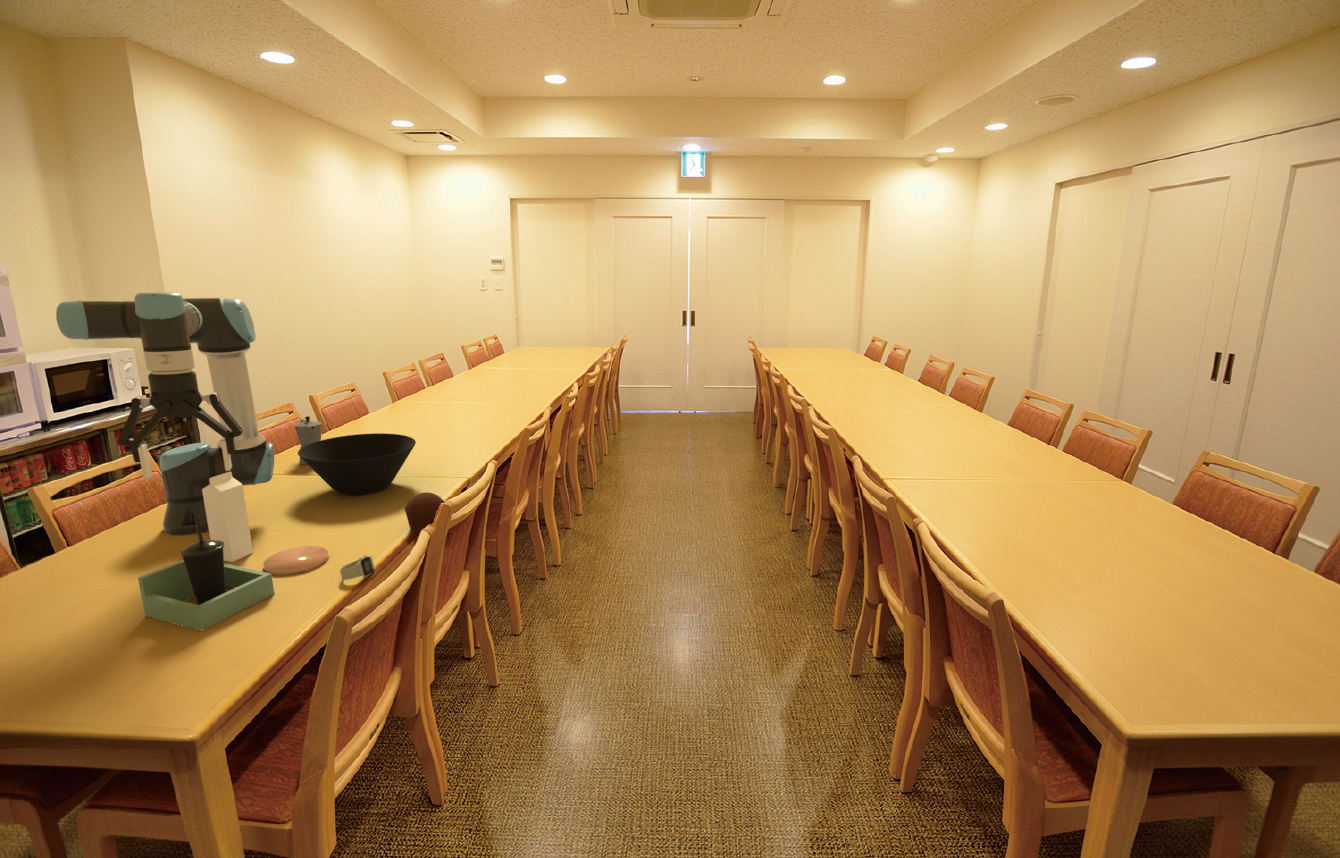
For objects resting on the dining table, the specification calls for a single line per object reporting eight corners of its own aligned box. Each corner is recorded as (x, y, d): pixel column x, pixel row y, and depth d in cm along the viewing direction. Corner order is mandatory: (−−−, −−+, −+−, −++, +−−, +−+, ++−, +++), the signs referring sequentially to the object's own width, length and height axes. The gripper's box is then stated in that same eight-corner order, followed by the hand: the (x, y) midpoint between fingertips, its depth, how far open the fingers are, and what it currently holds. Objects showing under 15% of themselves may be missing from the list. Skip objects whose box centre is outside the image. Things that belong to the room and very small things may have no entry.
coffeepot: (331, 462, 238) (326, 417, 234) (304, 467, 232) (298, 421, 227) (319, 454, 249) (314, 411, 244) (293, 458, 242) (287, 414, 238)
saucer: (250, 569, 151) (249, 565, 151) (300, 547, 164) (299, 542, 164) (293, 579, 147) (292, 574, 147) (341, 555, 160) (340, 550, 160)
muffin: (406, 522, 182) (403, 490, 179) (445, 517, 186) (443, 486, 184) (406, 537, 171) (403, 504, 169) (448, 532, 176) (446, 499, 173)
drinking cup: (211, 615, 131) (195, 528, 126) (181, 611, 132) (164, 524, 127) (242, 598, 138) (228, 514, 133) (213, 594, 139) (199, 511, 135)
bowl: (364, 513, 188) (358, 466, 185) (277, 498, 199) (271, 454, 196) (441, 479, 221) (437, 438, 218) (362, 468, 232) (358, 429, 229)
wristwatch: (357, 585, 145) (355, 565, 144) (333, 582, 146) (331, 563, 145) (381, 567, 154) (379, 549, 153) (357, 565, 155) (355, 547, 154)
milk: (213, 559, 156) (198, 477, 151) (235, 550, 162) (221, 470, 157) (232, 562, 155) (218, 479, 150) (254, 552, 161) (240, 472, 155)
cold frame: (145, 616, 130) (137, 577, 128) (222, 581, 145) (216, 546, 143) (200, 631, 125) (193, 591, 123) (274, 593, 140) (269, 557, 138)
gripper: (82, 377, 114) (105, 485, 119) (243, 370, 125) (258, 470, 130) (97, 371, 121) (118, 475, 126) (249, 366, 132) (262, 461, 137)
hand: (189, 473), depth 128 cm, fingers open, 13 cm apart
